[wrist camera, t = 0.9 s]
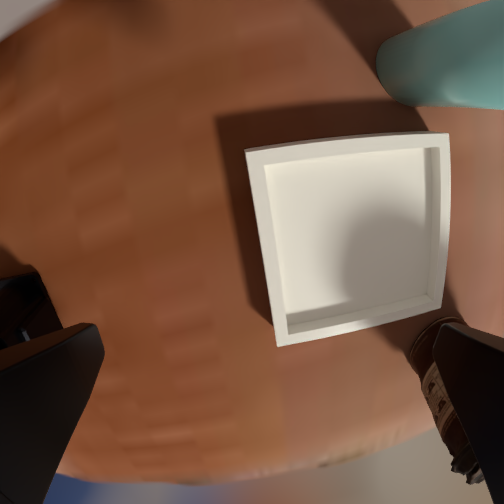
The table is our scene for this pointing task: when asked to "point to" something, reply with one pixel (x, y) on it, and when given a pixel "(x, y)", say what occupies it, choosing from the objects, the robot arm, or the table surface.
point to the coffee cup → (443, 403)
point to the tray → (351, 229)
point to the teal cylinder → (448, 60)
